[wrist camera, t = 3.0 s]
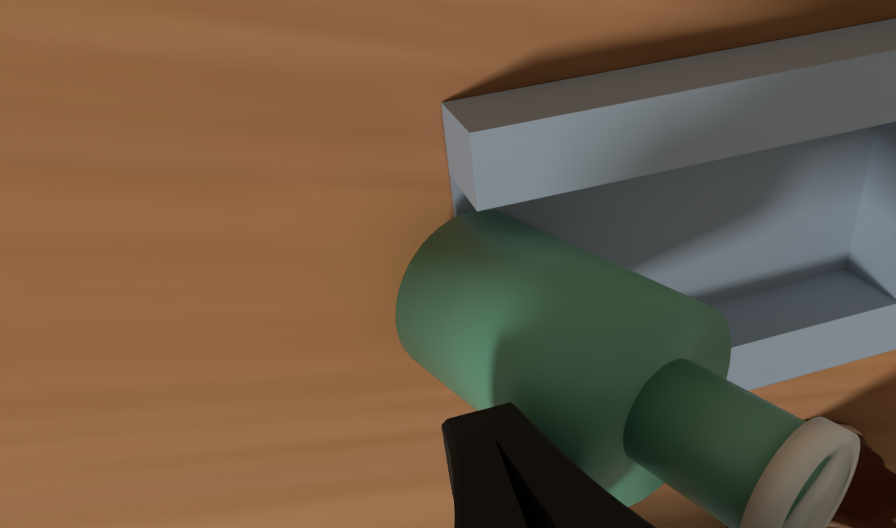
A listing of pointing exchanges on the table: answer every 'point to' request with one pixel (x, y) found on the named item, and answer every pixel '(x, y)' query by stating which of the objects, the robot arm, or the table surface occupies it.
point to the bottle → (614, 374)
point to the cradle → (717, 185)
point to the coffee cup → (867, 493)
